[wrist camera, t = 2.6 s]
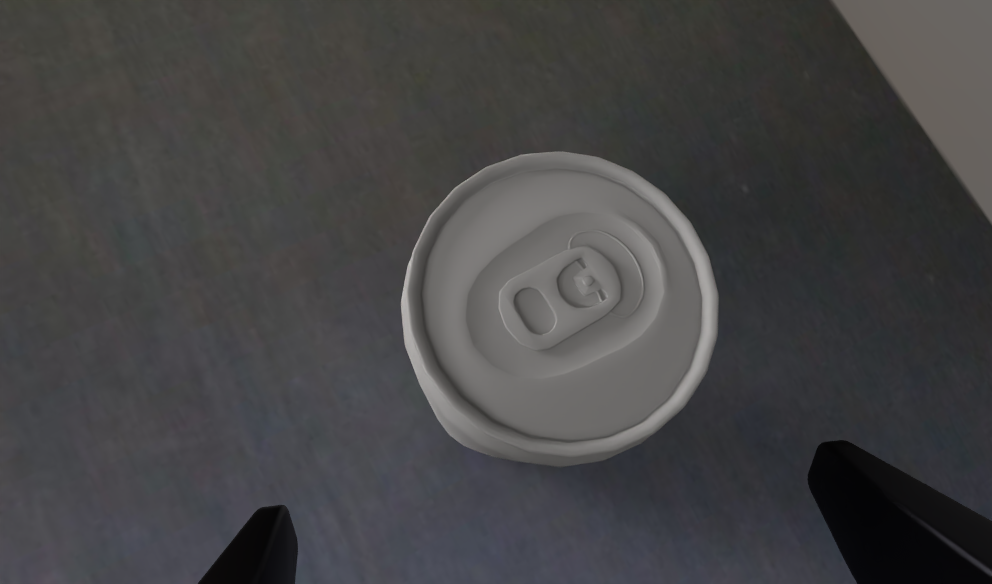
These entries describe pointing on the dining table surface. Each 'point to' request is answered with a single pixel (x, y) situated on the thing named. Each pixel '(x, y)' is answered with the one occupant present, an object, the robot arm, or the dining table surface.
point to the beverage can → (558, 310)
